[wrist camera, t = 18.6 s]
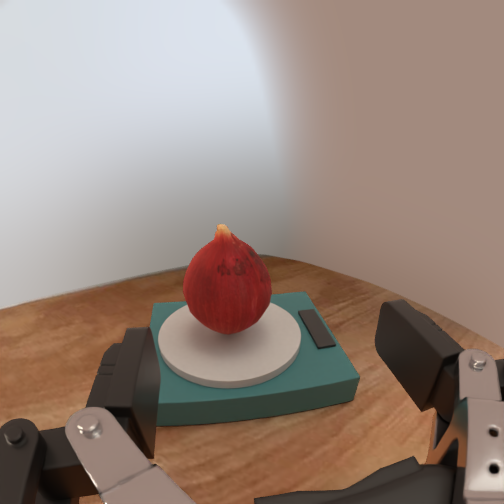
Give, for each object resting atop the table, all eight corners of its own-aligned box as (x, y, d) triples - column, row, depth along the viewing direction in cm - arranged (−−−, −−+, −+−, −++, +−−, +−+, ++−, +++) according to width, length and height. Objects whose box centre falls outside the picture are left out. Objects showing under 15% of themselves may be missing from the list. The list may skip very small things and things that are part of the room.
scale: (303, 312, 31) (305, 284, 30) (353, 400, 20) (362, 369, 19) (157, 324, 28) (152, 296, 27) (147, 426, 18) (135, 395, 16)
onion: (280, 320, 24) (284, 218, 21) (251, 367, 19) (251, 247, 16) (212, 305, 26) (207, 210, 23) (173, 343, 21) (159, 234, 18)
